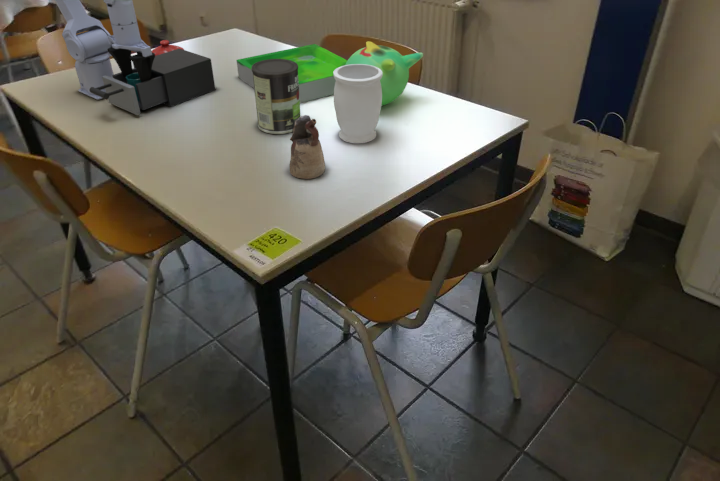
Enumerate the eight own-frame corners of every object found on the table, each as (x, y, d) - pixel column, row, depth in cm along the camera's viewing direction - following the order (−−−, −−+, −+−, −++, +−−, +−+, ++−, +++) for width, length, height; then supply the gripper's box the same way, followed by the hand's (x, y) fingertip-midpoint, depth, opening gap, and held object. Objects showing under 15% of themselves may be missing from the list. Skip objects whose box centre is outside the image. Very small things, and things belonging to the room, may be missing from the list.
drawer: (116, 122, 132) (109, 94, 128) (89, 109, 138) (81, 82, 134) (182, 98, 144) (177, 72, 140) (154, 87, 150) (148, 61, 146)
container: (144, 92, 144) (139, 70, 141) (156, 97, 142) (151, 75, 139) (126, 98, 141) (121, 76, 138) (139, 103, 139) (133, 81, 135)
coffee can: (306, 117, 137) (303, 60, 129) (294, 136, 129) (290, 76, 121) (266, 114, 139) (260, 56, 130) (251, 132, 131) (244, 72, 122)
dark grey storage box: (170, 106, 142) (164, 74, 137) (140, 94, 148) (132, 62, 143) (215, 89, 151) (210, 58, 146) (185, 78, 157) (179, 48, 152)
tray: (363, 86, 153) (363, 68, 150) (281, 107, 142) (279, 88, 139) (315, 60, 170) (314, 43, 167) (238, 77, 158) (236, 59, 155)
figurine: (309, 159, 120) (306, 105, 113) (332, 170, 116) (330, 116, 109) (283, 170, 116) (278, 116, 109) (306, 183, 112) (303, 127, 105)
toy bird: (366, 85, 154) (367, 29, 146) (422, 97, 147) (426, 40, 139) (330, 107, 142) (328, 49, 133) (389, 123, 135) (391, 62, 126)
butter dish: (177, 79, 157) (171, 48, 152) (141, 75, 159) (134, 44, 154) (198, 66, 166) (193, 36, 160) (163, 61, 168) (157, 32, 163)
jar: (346, 150, 124) (346, 83, 115) (327, 131, 131) (325, 67, 122) (389, 140, 128) (391, 75, 119) (367, 122, 135) (368, 60, 126)
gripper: (90, 20, 132) (105, 77, 140) (127, 32, 125) (140, 91, 133) (117, 13, 136) (130, 69, 144) (154, 25, 129) (165, 82, 137)
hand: (137, 79), depth 139 cm, fingers open, 7 cm apart
